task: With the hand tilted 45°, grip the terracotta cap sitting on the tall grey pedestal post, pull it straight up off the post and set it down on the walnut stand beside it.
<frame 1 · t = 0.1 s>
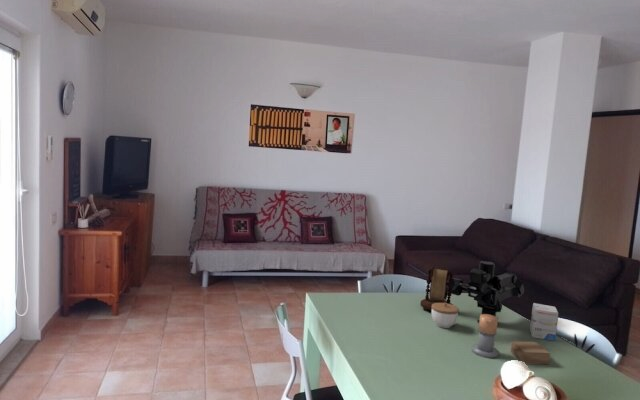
hand: (462, 295, 173), 17 cm above the table, tool horizontal, fingers open, 9 cm apart
ink box: (541, 335, 183), on the table
lidded jar: (443, 325, 186), on the table
stand: (529, 357, 161), on the table
scroll: (436, 310, 205), on the table
cap: (487, 330, 162), point 8 cm above the table, touching grey pedestal post
grey pedestal post: (485, 352, 163), on the table
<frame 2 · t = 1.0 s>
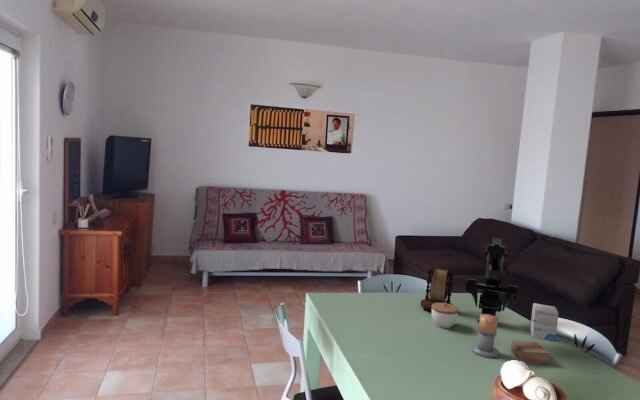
hand: (489, 308, 169), 14 cm above the table, tool tilted 45°, fingers open, 9 cm apart
nothing on the table moved.
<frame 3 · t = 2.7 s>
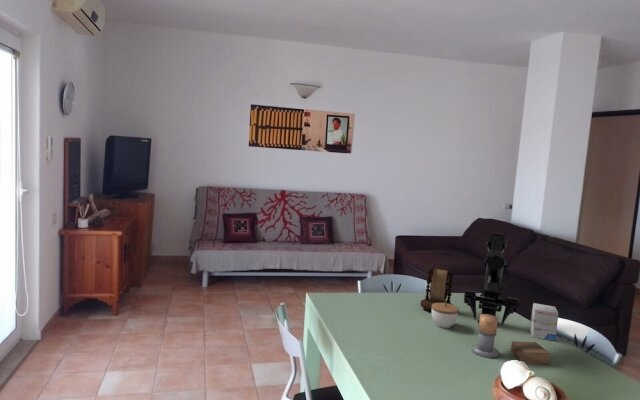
hand: (488, 321, 163), 11 cm above the table, tool tilted 45°, fingers open, 9 cm apart
nothing on the table moved.
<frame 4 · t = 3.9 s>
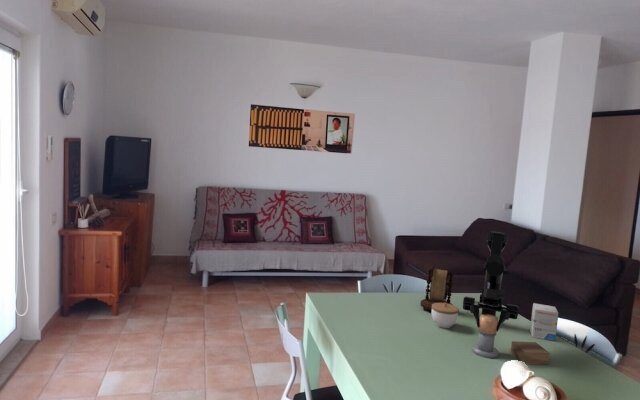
hand: (487, 329, 160), 9 cm above the table, tool tilted 45°, fingers closed on cap, 6 cm apart
cap: (487, 330, 162), point 8 cm above the table, touching grey pedestal post, gripper
everything else where it was.
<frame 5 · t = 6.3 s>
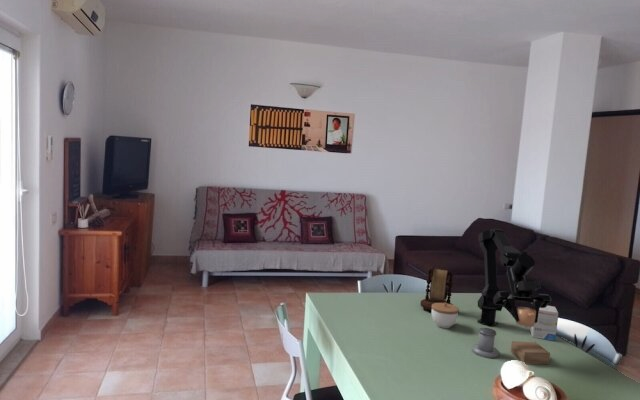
hand: (527, 321, 158), 14 cm above the table, tool tilted 45°, fingers closed on cap, 6 cm apart
cap: (524, 323, 159), point 12 cm above the table, touching gripper
everything else where it was.
when the fingers open (7 cm above the table, at t = 8.6 s): cap drops 2 cm, resting on stand.
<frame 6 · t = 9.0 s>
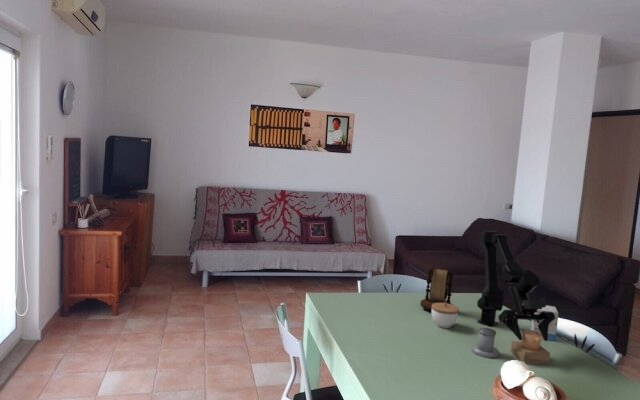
hand: (533, 340, 158), 7 cm above the table, tool tilted 45°, fingers open, 9 cm apart
cap: (530, 346, 160), point 4 cm above the table, touching stand
everything else where it was.
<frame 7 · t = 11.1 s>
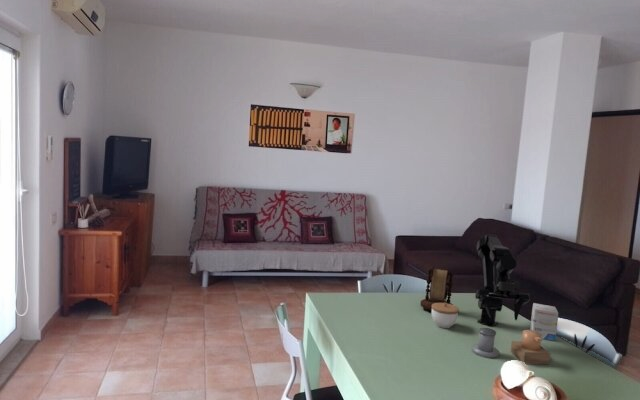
hand: (503, 318, 170), 10 cm above the table, tool tilted 35°, fingers open, 9 cm apart
nothing on the table moved.
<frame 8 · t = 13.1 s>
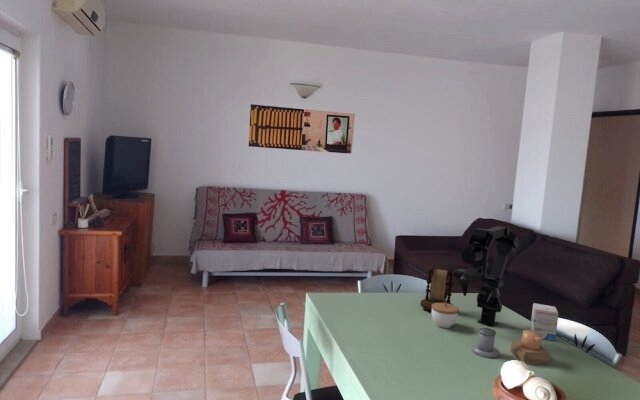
hand: (475, 299, 182), 13 cm above the table, tool pointing down, fingers open, 9 cm apart
nothing on the table moved.
at the end: cap inside the target area on the stand (0.0 cm from its centre), point 4.0 cm above the stand's base; cap tilted 0°; the gripper is holding nothing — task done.
